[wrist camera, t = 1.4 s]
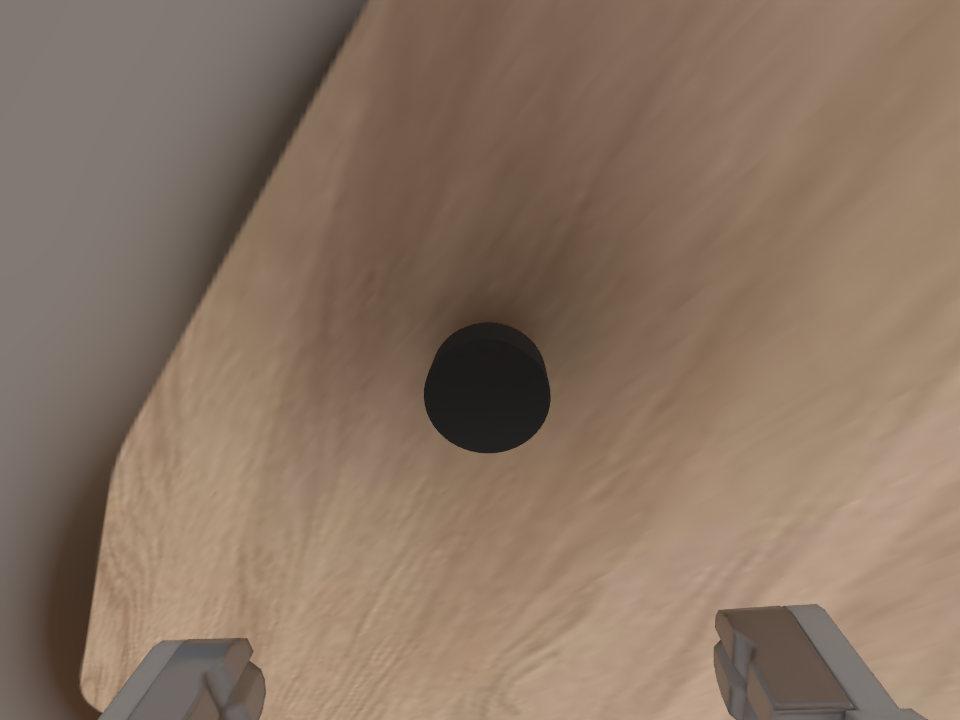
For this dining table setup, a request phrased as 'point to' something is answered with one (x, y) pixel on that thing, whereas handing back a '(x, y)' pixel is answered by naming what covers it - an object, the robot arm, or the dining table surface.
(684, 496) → the dining table surface
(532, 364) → the stopper
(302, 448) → the dining table surface
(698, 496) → the dining table surface
